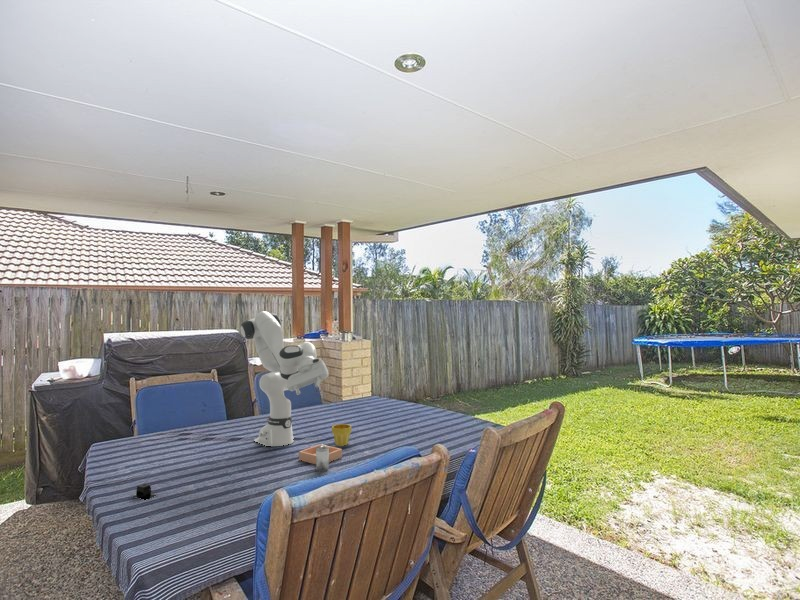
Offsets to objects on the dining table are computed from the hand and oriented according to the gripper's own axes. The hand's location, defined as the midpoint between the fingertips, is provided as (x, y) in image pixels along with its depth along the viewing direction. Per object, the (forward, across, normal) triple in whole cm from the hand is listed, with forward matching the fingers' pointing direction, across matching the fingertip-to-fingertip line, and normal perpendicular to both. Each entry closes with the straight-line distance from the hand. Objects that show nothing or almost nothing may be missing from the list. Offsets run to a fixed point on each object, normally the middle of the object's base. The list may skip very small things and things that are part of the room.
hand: (307, 390), depth 202 cm
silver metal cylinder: (+24, -6, +26) cm, 36 cm away
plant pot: (-4, -7, +52) cm, 52 cm away
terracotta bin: (+12, -11, +34) cm, 38 cm away
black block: (+37, -62, -14) cm, 74 cm away
